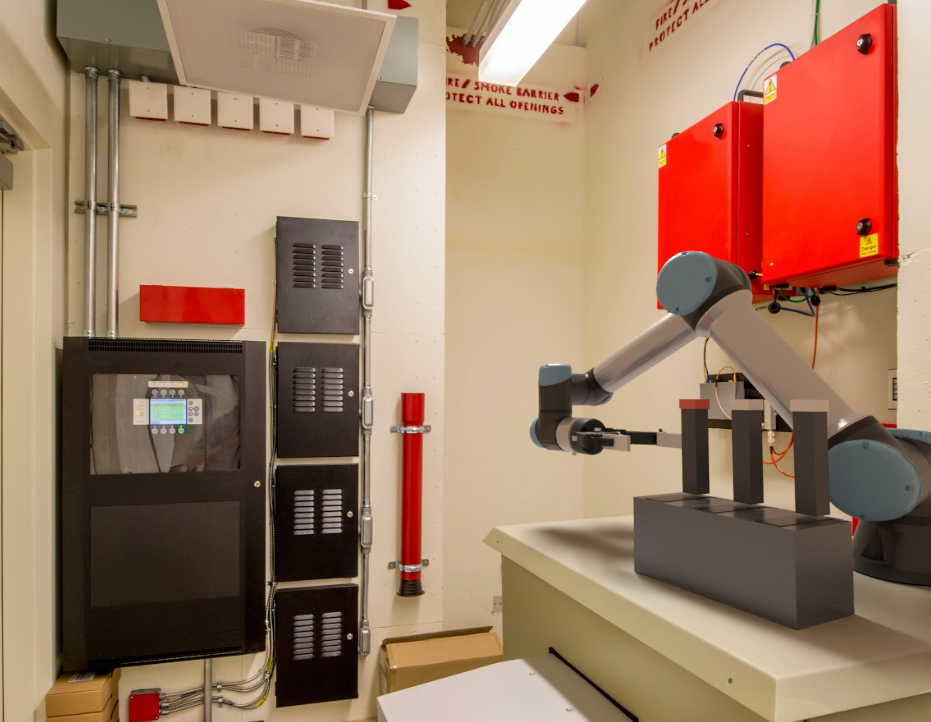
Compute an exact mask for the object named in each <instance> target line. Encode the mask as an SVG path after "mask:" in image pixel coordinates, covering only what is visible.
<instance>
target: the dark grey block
mask: <svg viewBox="0 0 931 722" xmlns="http://www.w3.org/2000/svg"><path fill="white" fill-rule="evenodd" d="M632 498H633V499H632V500H633V563H634V564H633V566H634V567H633V569H634V570H633V571H634V572H636V573H638V574H641V575H644V576H647V577H648V578H649V577H650V578H653V579H654V580H658V581H660V582H663V583H666V584H668V585H671V586H674V587H677V588H679V589H682V590H686V591H688V592H691V593H694V594H697V595H700V596H702V597H705V598H708V599H710V600H713V601H715V602H719V603H721V604H724V605H726V604H727V606H729V605H730V606H729V607H732V608H734V609H735V608H736V609H739V610H740V609H741V611H743V610H744V611H743V612H746V613H749V614H751V613H752V615H755V616H757V617H761V618H763V619H765V620H768V621H770V622H774V623H777V624H780V625H782V626H784V627H788V628H790V629H793V630H796V631H798V630H802V629H805V628H810V627H813V626H816V625H820V624H823V623H827V622H830V621H835V620H837V619H841V618H842V619H843V618H845V617H849V616H852V615H855V612H856V611H855V585H854V581H855V580H854V569H853V551H852V539H853V532H852V531H853V525H852V521H851V520H845V519H844V518H840V517H839V518H838V517H832V516H828V515H825V516H818V517H816V516H810V515H805V514H799V513H795V509H794V510H793V509H788V508H781V507H775V506H772V505H771V506H770V505H764V504H753V505H749V504H744V503H738V502H733V499H730V498H725V497H720V496H714V495H709V494H701V495H694V494H689V493H683V491H682V492H671V493H662V494H661V493H659V494H649V495H640V496H633V497H632Z"/></svg>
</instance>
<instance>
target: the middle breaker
mask: <svg viewBox="0 0 931 722" xmlns="http://www.w3.org/2000/svg"><path fill="white" fill-rule="evenodd" d="M728 402H729V403H728V407H729V408H728V410H730V413H731V414H730V415H731V417H730V418H731V452H732V453H731V456H732V457H731V459H732V491H733V493H732V497H733V499H732V500H733V502H738V503H744V504H749V505H753V504H760V505H762V504H765V493H764V491H765V489H764V487H765V486H764V455H763V453H764V452H763V451H764V450H763V447H764V446H763V415H762V414H763V413H762V411H764V410H765V409H764V399H763V398H761V399H758V398H757V399H754V398H753V399H752V398H751V399H749V398H745V399H744V398H742V399H741V398H739V399H737V398H736V399H734V398H733V399H732V398H731V399H730V398H729V399H728Z"/></svg>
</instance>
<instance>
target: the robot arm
mask: <svg viewBox="0 0 931 722" xmlns="http://www.w3.org/2000/svg"><path fill="white" fill-rule="evenodd" d="M655 294H656V299H657V301H658V302H659V304H660V305H661V307H662V308H663V309H664V310H665V311H666V312H669V313H667V314H666V315H664V316H663V317H662V318H660V319H659V320H657V321H656V322H655V323H653V324H652V325H650V326H649V327H648V328H646V329H645V330H644V331H642V332H641V333H639V334H638V335H637V336H635V337H634V338H632V339H630V340H629V341H628V342H627V343H626V344H624V345H623V346H621V347H620V348H618V349H617V350H616V351H614V352H613V353H612V354H610V355H609V356H607V357H606V358H603V360H602V361H600V362H599V363H597V364H596V365H595V366H594V367H592V368H590V369H589V370H587V371H586V372H584V373H576V372H575V373H573V368H572V365H570V364H568V363H545V364H542V365H540V367H539V368H538V381H537V385H538V413H537V414H538V417H536V418H535V419H533V421H532V422H531V425H530V427H529V436H530V439H531V441H532V442H533V444H534V445H535V446H537V447H539V448H541V449H546V450H548V451H558V452H559V451H560V452H567V453H571V455H572V456H576V455H577V454H582V455H589V456H595V455H599V454H600V453H601V452H602V451H604V450H608V451H611V450H612V451H618V452H627V453H628V452H631V445H640V446H641V445H643V446H644V445H645V446H646V445H647V446H656V447H662V448H670V449H672V448H673V449H681V450H682V435H681V433H677V432H666V431H663V428H659V429H658V431H641V430H640V431H636V430H627V429H624V428H614V427H606V426H605V424H604V423H603V422H602V421H601V420H599V419H597V418H591V417H589V418H588V417H573V406H590V407H597V406H601V405H606V404H607V403H609V402H610V401H611V399H612V397H613V396H614V393H615V392H616V391H617V390H619V389H620V388H623V387H624V386H625V385H627V384H629V382H632V381H633V380H635V379H637V377H639V376H641V375H642V374H644V373H645V372H647V371H648V370H650V369H651V368H653V367H655V366H656V365H658V364H659V363H660V362H662V361H663V360H665V359H666V358H668V357H670V356H671V355H673V354H674V353H676V352H678V351H679V350H681V349H683V348H684V347H685V346H687V345H688V344H689V343H691V342H694V341H695V340H696V339H698V337H700V338H710V339H712V341H714V343H715V344H716V345H717V347H719V348H720V350H722V352H723V353H724V354H725V356H727V357H728V358H729V359H730V361H731V362H732V364H734V365H735V367H737V369H738V370H739V371H740V372H741V373H742V374H743V375H744V377H746V378H747V380H748V381H749V382H750V383H751V384H752V385H753V386H754V388H755V389H756V390H757V391H758V392H759V394H760V395H762V397H763V398H764V399H765V400H766V401H767V402H768V404H769V405H770V406H771V407H772V408H773V410H775V411H776V413H777V414H778V415H779V416H780V417H781V418H782V419H783V421H784V422H785V423H786V424H787V425H788V426H789V427H790V429H791V430H792V431H793V414H792V411H790V400H829V411H827V431H828V461H829V492H830V504H832V505H833V506H834V507H835V508H836V509H837V510H839V511H840V512H842V513H843V514H846V515H847V516H849V517H852V518H855V519H858V523H857V525H856V528H855V531H854V534H853V535H852V551H853V571H856V572H858V573H862V574H864V575H867V576H871V577H874V578H879V579H882V580H887V581H891V582H892V581H893V582H897V583H904V584H905V583H906V584H912V585H920V586H921V585H922V586H923V585H924V586H931V431H929V430H922V429H921V430H918V429H911V428H896V427H895V428H894V427H885V426H884V425H883V424H882V422H880V421H879V420H878V419H877V418H876V417H875V416H874V415H873V414H872V413H868V412H867V413H866V412H858V411H855V410H853V409H852V408H851V407H850V406H849V404H848V403H847V402H845V400H843V399H842V398H841V397H840V396H839V394H838V393H837V392H836V391H835V390H834V389H833V388H832V387H831V386H830V385H829V384H828V383H827V382H826V381H825V380H824V379H823V378H822V377H821V376H820V375H819V374H818V373H817V371H816V370H815V369H814V368H813V367H812V366H811V365H810V364H809V363H807V362H806V360H805V359H803V357H802V356H801V355H800V354H799V353H798V352H797V351H796V350H795V349H794V348H793V347H792V346H791V345H790V343H789V342H787V341H786V340H785V339H784V338H783V336H781V335H780V334H779V332H777V330H776V329H775V328H774V327H773V326H772V325H771V324H770V323H769V322H768V321H767V320H766V319H765V318H764V317H763V316H762V314H760V313H759V312H758V311H757V310H756V309H755V308H754V307H753V306H752V305H753V304H752V303H753V293H752V284H751V280H750V277H749V275H748V274H747V273H746V271H745V270H744V269H743V268H742V267H740V266H739V265H737V264H736V263H733V262H730V261H728V260H723V259H720V258H717V257H714V256H711V255H710V254H708V253H706V252H704V251H695V250H687V251H682V252H679V253H677V254H675V255H674V256H672V257H671V258H669V259H668V260H667V261H666V262H665V263H664V265H663V266H662V268H661V269H660V271H659V273H658V275H657V279H656V286H655Z"/></svg>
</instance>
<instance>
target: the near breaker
mask: <svg viewBox="0 0 931 722" xmlns="http://www.w3.org/2000/svg"><path fill="white" fill-rule="evenodd" d="M790 411H792V414H793V430H792V436H793V437H792V442H793V444H792V446H793V477H794V480H793V481H794V506H795V507H794V511H795V513H799V514H805V515H810V516H816V517H818V516H830V515H831V502H830V492H829V461H828V431H827V411H829V400H790Z"/></svg>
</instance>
